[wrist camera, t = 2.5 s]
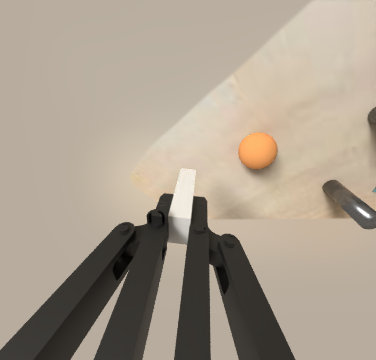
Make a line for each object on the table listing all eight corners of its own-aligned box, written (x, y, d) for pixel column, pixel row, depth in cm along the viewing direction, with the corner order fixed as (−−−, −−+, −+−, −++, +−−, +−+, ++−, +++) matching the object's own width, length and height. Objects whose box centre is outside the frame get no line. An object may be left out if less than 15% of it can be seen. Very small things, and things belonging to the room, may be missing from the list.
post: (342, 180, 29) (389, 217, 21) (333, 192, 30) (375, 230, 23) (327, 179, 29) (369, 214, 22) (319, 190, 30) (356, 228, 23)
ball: (275, 129, 25) (290, 141, 21) (264, 161, 28) (275, 177, 24) (240, 126, 26) (247, 137, 21) (232, 157, 29) (237, 173, 24)
